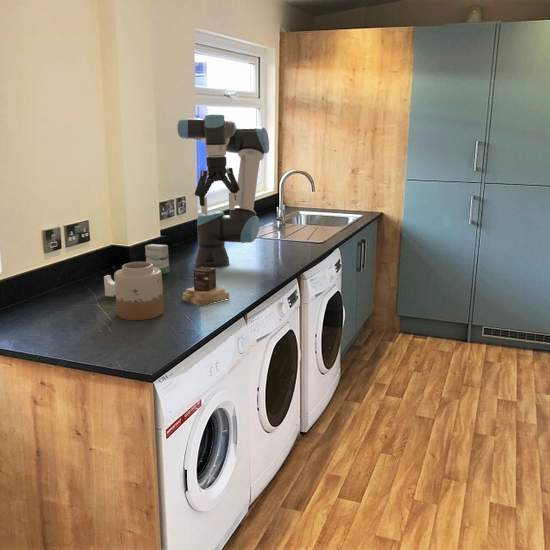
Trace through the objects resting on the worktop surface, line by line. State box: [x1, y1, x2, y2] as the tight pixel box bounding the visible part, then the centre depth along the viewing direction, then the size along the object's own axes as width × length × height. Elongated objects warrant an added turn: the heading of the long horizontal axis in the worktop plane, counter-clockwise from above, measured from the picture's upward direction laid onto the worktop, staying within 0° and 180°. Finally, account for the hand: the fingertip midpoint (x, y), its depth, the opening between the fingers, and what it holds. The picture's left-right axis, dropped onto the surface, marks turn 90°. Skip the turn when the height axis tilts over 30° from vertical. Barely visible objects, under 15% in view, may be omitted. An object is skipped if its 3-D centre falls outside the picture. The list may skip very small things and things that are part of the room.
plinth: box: [181, 285, 230, 307], centre depth 218 cm, size 12×12×4 cm
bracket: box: [103, 274, 116, 297], centre depth 228 cm, size 13×7×8 cm, turn 158°
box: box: [193, 267, 217, 291], centre depth 217 cm, size 6×6×7 cm
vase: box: [113, 261, 165, 321], centre depth 202 cm, size 15×15×17 cm
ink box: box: [144, 243, 170, 275], centre depth 256 cm, size 9×5×12 cm, turn 65°
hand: (218, 211), depth 235 cm, fingers open, 13 cm apart
